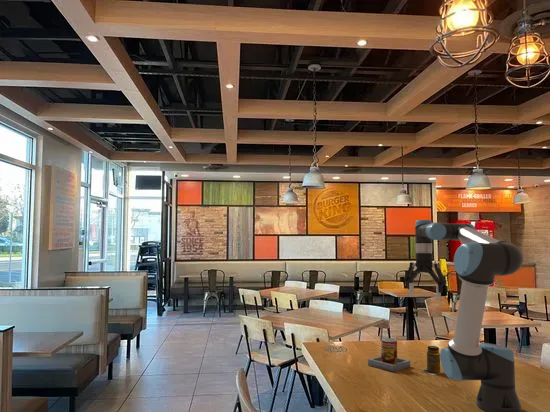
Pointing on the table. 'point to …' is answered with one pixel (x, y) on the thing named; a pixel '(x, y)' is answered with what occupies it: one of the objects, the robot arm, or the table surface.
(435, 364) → the condiment
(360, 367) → the table surface
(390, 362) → the canned food
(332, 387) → the table surface
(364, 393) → the table surface
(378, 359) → the holder
